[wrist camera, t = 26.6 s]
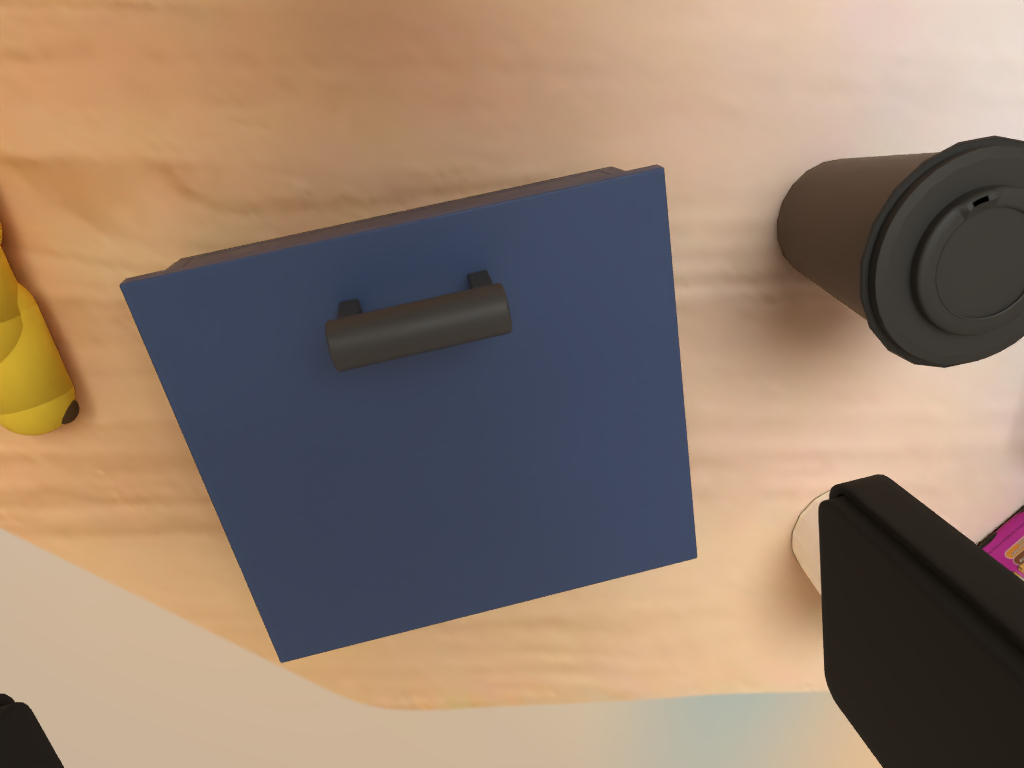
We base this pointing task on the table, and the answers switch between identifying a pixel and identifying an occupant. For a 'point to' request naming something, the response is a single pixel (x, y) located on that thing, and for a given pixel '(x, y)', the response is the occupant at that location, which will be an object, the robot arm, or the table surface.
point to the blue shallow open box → (393, 217)
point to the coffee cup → (918, 246)
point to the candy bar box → (1008, 544)
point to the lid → (435, 408)
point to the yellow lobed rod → (29, 364)
